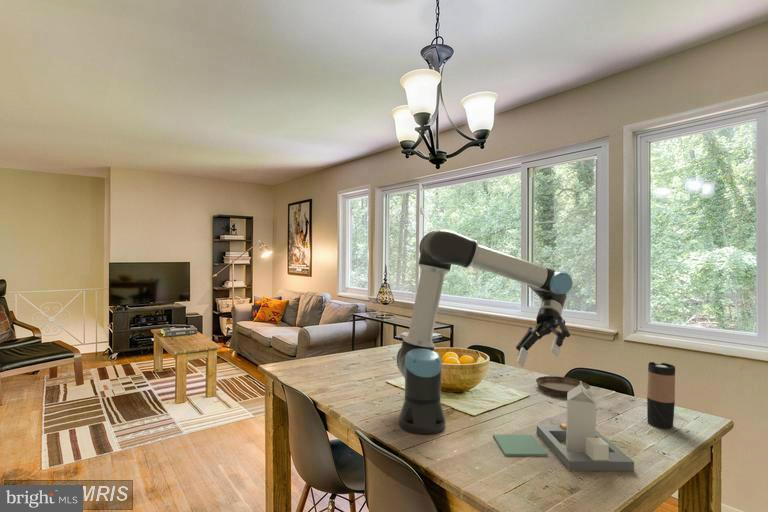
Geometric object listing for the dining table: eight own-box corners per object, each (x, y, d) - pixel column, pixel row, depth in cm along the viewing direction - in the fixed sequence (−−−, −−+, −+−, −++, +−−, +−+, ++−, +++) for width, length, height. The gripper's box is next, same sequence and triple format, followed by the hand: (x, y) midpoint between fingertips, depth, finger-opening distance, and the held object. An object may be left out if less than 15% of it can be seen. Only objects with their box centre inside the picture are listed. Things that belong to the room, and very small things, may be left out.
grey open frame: (569, 470, 107) (569, 445, 107) (536, 433, 129) (537, 411, 129) (633, 471, 107) (634, 445, 107) (590, 433, 129) (590, 412, 129)
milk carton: (566, 452, 116) (568, 386, 116) (566, 442, 123) (567, 379, 123) (594, 457, 114) (596, 389, 114) (592, 446, 120) (594, 382, 120)
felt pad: (505, 455, 114) (505, 453, 114) (492, 436, 126) (493, 434, 126) (547, 456, 114) (547, 454, 114) (531, 436, 126) (531, 434, 126)
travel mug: (665, 431, 132) (667, 369, 132) (641, 422, 139) (643, 363, 138) (678, 426, 135) (680, 366, 135) (654, 418, 142) (656, 360, 142)
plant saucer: (544, 379, 184) (545, 372, 184) (595, 390, 171) (595, 382, 171) (528, 391, 168) (528, 383, 168) (582, 404, 155) (582, 395, 155)
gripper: (587, 310, 138) (578, 356, 123) (528, 332, 156) (514, 375, 141) (572, 295, 137) (561, 339, 122) (515, 319, 155) (499, 360, 140)
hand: (536, 358), depth 132 cm, fingers open, 13 cm apart
